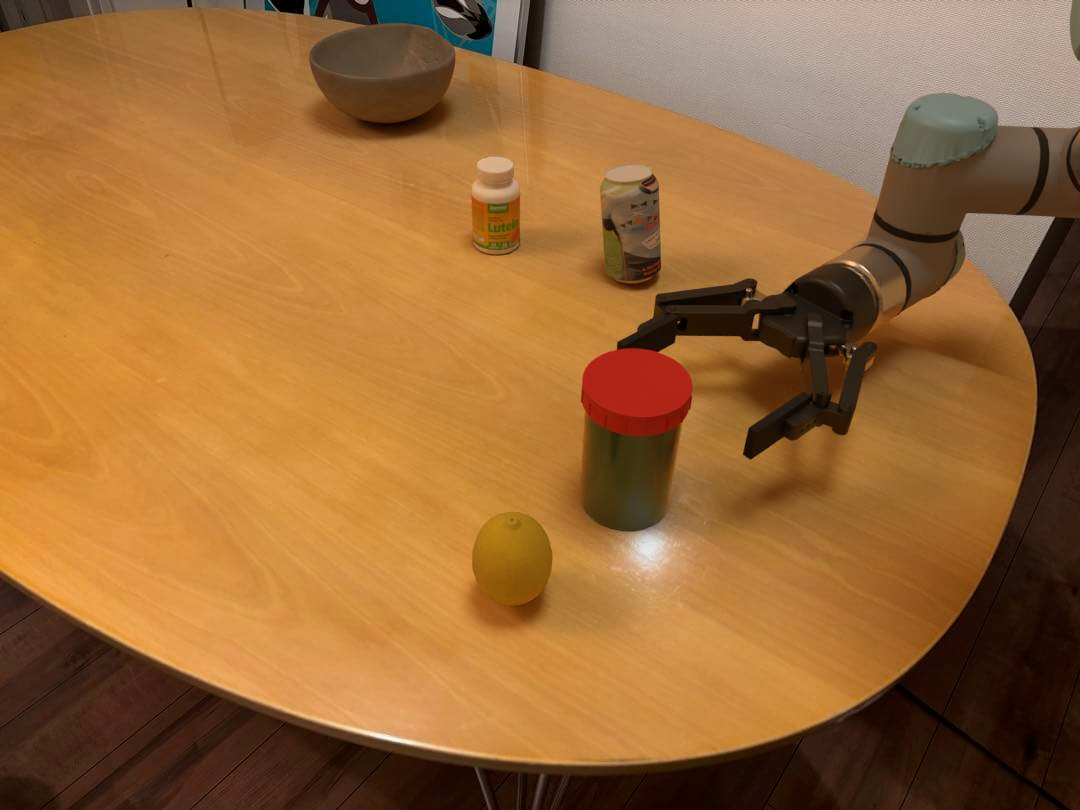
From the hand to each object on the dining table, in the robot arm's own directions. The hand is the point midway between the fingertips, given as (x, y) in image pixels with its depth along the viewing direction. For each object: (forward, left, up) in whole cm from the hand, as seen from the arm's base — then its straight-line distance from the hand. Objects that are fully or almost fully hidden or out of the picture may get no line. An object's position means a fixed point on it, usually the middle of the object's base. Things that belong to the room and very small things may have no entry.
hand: (680, 398), depth 69 cm
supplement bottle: (+35, +19, -8) cm, 41 cm away
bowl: (+70, +39, -8) cm, 81 cm away
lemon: (-14, +12, -8) cm, 20 cm away
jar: (-4, +4, -8) cm, 9 cm away
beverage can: (+30, +4, -8) cm, 32 cm away
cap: (-4, +4, +4) cm, 6 cm away
